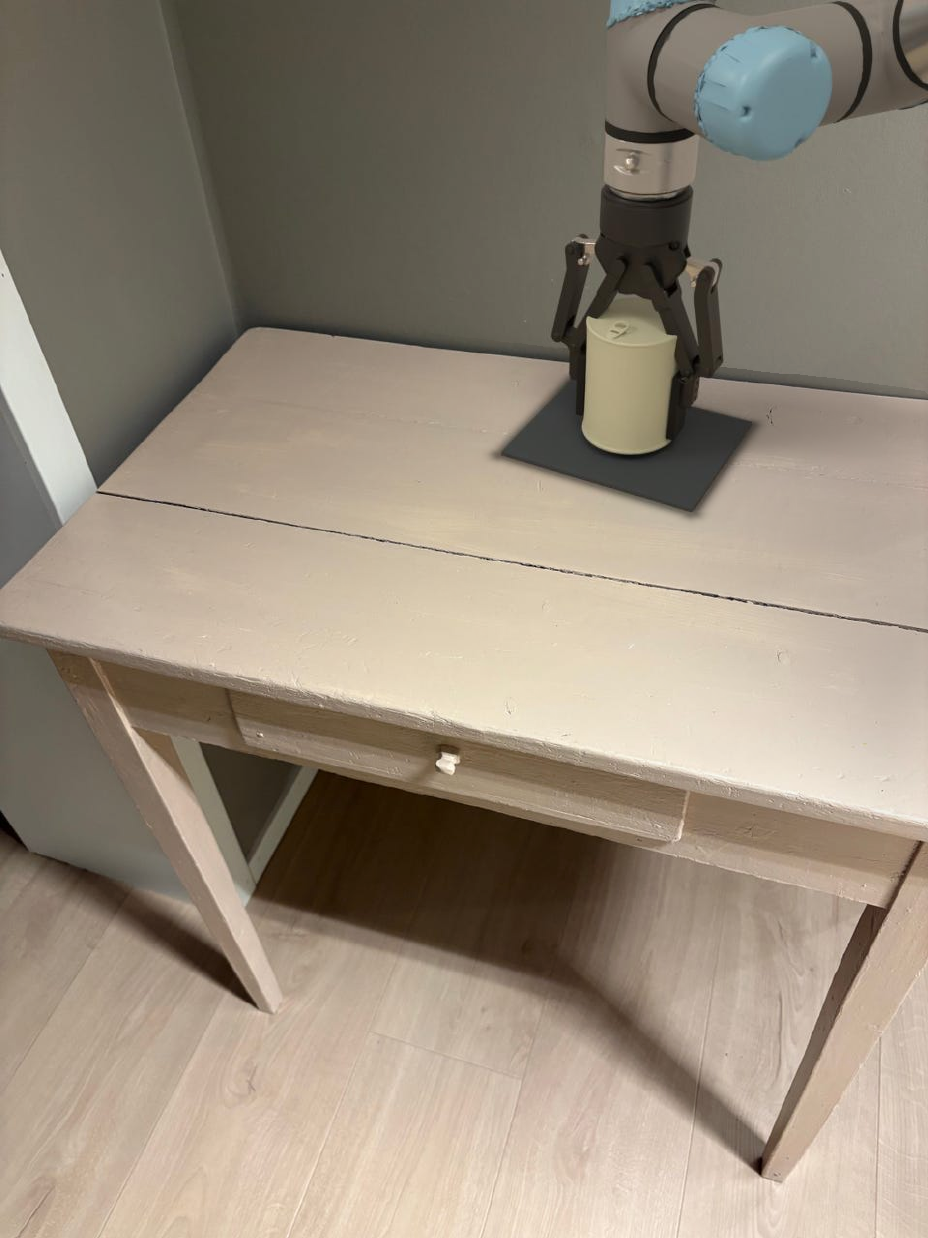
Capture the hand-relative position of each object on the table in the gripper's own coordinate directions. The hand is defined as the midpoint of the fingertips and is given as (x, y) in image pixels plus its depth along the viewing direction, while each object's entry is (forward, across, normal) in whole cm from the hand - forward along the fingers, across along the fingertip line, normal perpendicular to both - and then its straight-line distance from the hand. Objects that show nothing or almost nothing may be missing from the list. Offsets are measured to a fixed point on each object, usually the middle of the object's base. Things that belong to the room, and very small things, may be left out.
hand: (628, 420), depth 94 cm
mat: (+2, 0, 0) cm, 2 cm away
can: (+1, 0, 0) cm, 1 cm away
